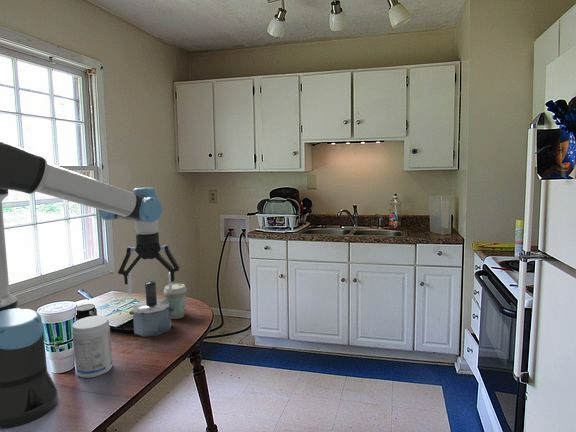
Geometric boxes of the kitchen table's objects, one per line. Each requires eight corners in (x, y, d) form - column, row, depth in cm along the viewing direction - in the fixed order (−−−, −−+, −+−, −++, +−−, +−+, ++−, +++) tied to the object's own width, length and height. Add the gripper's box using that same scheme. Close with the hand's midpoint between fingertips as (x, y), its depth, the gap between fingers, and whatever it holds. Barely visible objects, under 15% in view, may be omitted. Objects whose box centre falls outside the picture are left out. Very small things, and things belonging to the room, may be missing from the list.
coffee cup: (181, 321, 150) (179, 290, 149) (160, 319, 152) (158, 289, 151) (191, 313, 159) (190, 283, 157) (172, 311, 161) (170, 282, 159)
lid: (167, 312, 138) (165, 286, 136) (130, 315, 136) (128, 288, 134) (171, 300, 149) (169, 276, 148) (137, 303, 147) (135, 278, 146)
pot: (173, 334, 139) (171, 312, 138) (127, 338, 136) (125, 315, 135) (176, 321, 151) (175, 300, 150) (134, 324, 148) (133, 303, 147)
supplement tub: (91, 361, 121) (87, 314, 119) (119, 363, 119) (116, 315, 117) (68, 378, 111) (63, 327, 109) (99, 380, 110) (94, 329, 108)
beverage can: (75, 340, 135) (72, 306, 133) (96, 335, 139) (93, 302, 137) (79, 347, 130) (76, 312, 128) (101, 342, 134) (98, 307, 132)
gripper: (185, 229, 145) (187, 286, 147) (111, 232, 141) (115, 290, 143) (183, 232, 137) (186, 292, 140) (106, 235, 133) (110, 297, 136)
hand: (150, 291), depth 142 cm, fingers open, 13 cm apart
